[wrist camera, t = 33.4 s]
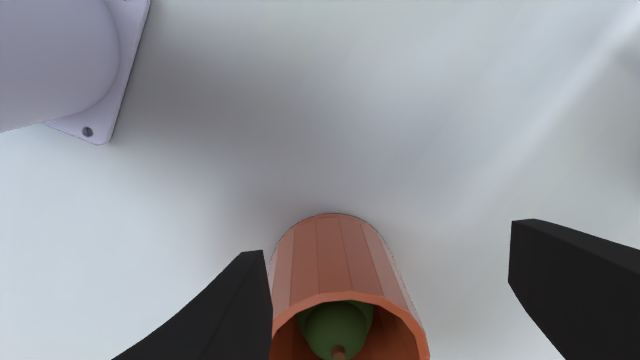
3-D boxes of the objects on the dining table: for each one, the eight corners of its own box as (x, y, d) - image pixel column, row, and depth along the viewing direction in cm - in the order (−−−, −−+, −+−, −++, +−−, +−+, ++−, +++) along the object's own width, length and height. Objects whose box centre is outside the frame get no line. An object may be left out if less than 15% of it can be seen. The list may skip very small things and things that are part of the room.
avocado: (305, 311, 23) (305, 405, 17) (284, 252, 21) (275, 331, 15) (373, 293, 23) (398, 382, 16) (356, 232, 21) (376, 305, 15)
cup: (252, 294, 23) (228, 401, 16) (301, 193, 21) (298, 264, 14) (357, 332, 24) (378, 447, 17) (412, 239, 22) (462, 327, 15)
